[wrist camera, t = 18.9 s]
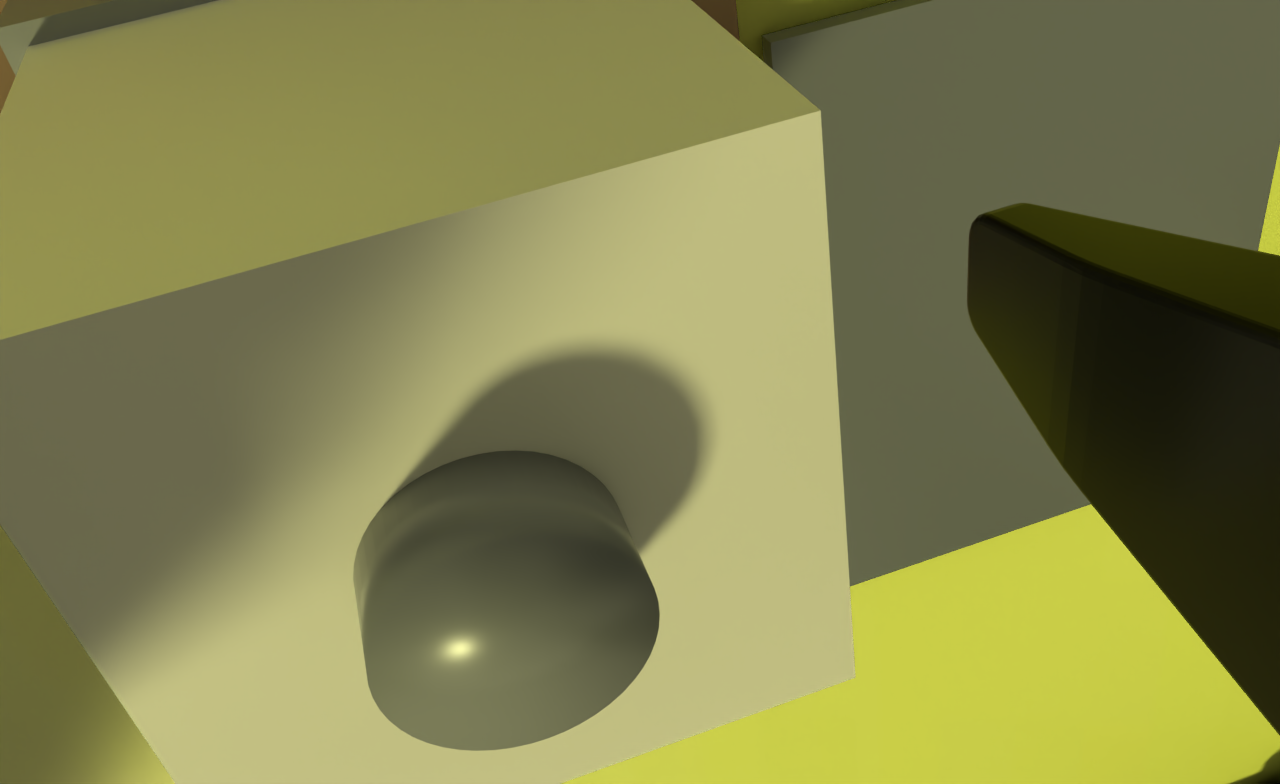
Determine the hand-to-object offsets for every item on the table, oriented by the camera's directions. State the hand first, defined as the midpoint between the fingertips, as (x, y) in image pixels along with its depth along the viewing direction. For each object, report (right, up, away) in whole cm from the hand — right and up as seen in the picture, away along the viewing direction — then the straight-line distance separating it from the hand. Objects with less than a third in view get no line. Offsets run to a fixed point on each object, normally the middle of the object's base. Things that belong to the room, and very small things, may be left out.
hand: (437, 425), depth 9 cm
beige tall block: (-2, +3, +4) cm, 6 cm away
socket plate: (+8, +2, +9) cm, 12 cm away
